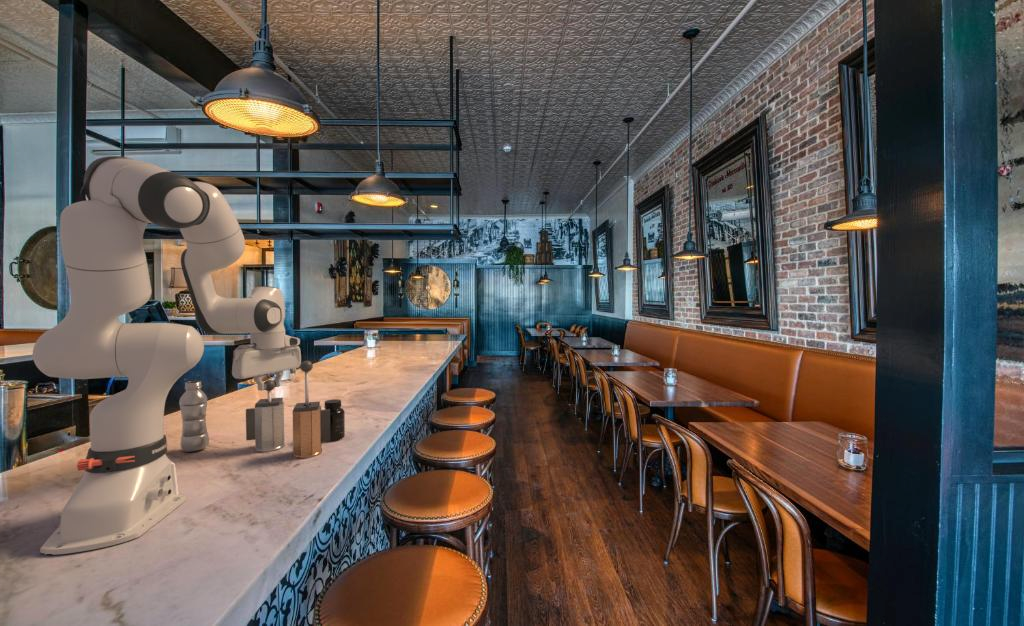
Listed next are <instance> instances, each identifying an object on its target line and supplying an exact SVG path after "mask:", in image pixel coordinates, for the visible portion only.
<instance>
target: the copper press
mask: <svg viewBox="0 0 1024 626" xmlns="http://www.w3.org/2000/svg"><path fill="white" fill-rule="evenodd" d="M328 441H330V409H328V410H324V409H322V405H321V401H309V405H308V406H305V402H297V403H296V404H295V405H294V406H293V409H292V457H293V458H295V459H300V460H301V459H303V460H304V459H310V458H314V457H316V456H319V455H321V454H322V453H323V447H322V444H323V443H326V442H327V443H329V442H328Z"/></svg>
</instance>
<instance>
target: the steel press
mask: <svg viewBox="0 0 1024 626" xmlns="http://www.w3.org/2000/svg"><path fill="white" fill-rule="evenodd" d="M254 404H255V405H254V407H252V408H246V409H245V435H246V437H245V439H246V441H253V440H254V443H255V444H254V446H255V452H258V453H268V452H269V453H270V452H275V451H278V450H280V449H282V448H284V447H285V443H286V442H285V408H284V407H285V405H284V404H285V403H284V397H273V398H272V397H271V401H268V398H260V399H258V401H257V402H255V403H254Z"/></svg>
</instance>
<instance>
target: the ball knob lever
mask: <svg viewBox="0 0 1024 626" xmlns="http://www.w3.org/2000/svg"><path fill="white" fill-rule="evenodd" d="M313 367H314V365H313V363H312V362H311V361H310V360H304V361H301V364H300V366H299V369H300V370H301V371H302V372H303V373H304V397H305V398H304V400H305V401H304V403H305V406H308V405H309V402H310V394H309V393H310V391H309V390H310V389H309V387H310V386H309V372H311V371H312V369H313Z"/></svg>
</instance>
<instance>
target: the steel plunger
mask: <svg viewBox="0 0 1024 626" xmlns="http://www.w3.org/2000/svg"><path fill="white" fill-rule="evenodd" d="M263 383H264V384H267V386H266V387H267V389H266V390H265V391H267V394H266V395H267V399H268V401H271V398H272V391H273V390H275V388H276V387H275V382H274V380H272V379H267V380H264V382H263Z"/></svg>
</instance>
